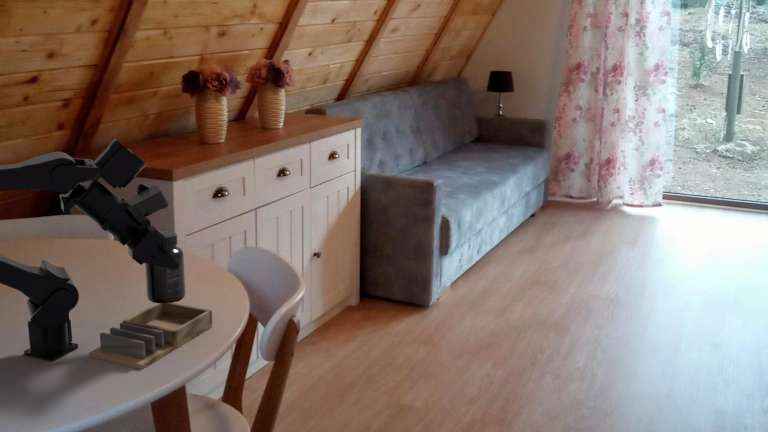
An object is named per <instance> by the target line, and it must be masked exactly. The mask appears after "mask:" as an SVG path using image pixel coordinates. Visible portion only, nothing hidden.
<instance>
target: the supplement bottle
mask: <svg viewBox="0 0 768 432" xmlns="http://www.w3.org/2000/svg"><path fill="white" fill-rule="evenodd" d="M160 232H161V233H163V234H164V236H165V237H166V238H165V240H164V247H165V248H166V250H167V251H168V252H169V253H170V254H171V256H172V257H173V258H174V259H175V261H176V262H177V263H178V264H179V267H178V268H177V269H176V270H173V269H169V268H165V267H161V266H157V265H152V264H147V263H144V268H145V282H146V285H145V287H146V294H147V295H146V296H147V299H148V300H149V301H150V302H151V303H155V304H157V303H160V304H165V303H177V302H180V301H181V300H183V299H184V298H185V297H186V292H187V291H186V275H185V274H186V273H185V271H186V270H185V256H184V255H185V253H184V250H183V249H182V248H181V247H179V246H178V234H177V233H176V232H174V231H166V230H164V231H162V230H161V231H160Z"/></svg>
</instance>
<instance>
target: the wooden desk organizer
mask: <svg viewBox="0 0 768 432" xmlns="http://www.w3.org/2000/svg"><path fill="white" fill-rule="evenodd" d="M212 313H213V310H210V309H207V308H201V307H200V308H199V307H196V306H190V305H186V304H182V303H177V302H173V303H165V304H160V303H155V304H154V305H151V306H150V307H148V308H146V309H144V310H142V311H140V312H138V313H136V314H134V315H132V316H129V318H126V319H124V320H122V322H120V323H119V328H118V327H113V326H112V327H110V328H109V333H106V332H100V333H99V341H100V345H99V346H98V347H96V348H95V349H92V350H91V351H90V352H88V357H89V358H93V359H97V360H101V361H104V362H105V361H106V362H109V363H115V364H118V365H119V364H120V365H122V366H128V367H131V368H136V369H140V370H144V369H145V368H147V367H148V366H150V365H152V364H154V363H155V362H157V361H159V360H160V359H162V358H163V357H166V356H167V355H168V354H170V353H172V352H174V351H175V350H177V349H178V348H180V347H182V346H183V345H185V344H187V343H188V342H190V341H192V340H193V339H195V338H196V337H198V336H200V335H201V334H203V333H205V332H207V331H208V330H210V329H212V328H213V314H212Z"/></svg>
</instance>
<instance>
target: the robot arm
mask: <svg viewBox="0 0 768 432" xmlns="http://www.w3.org/2000/svg"><path fill="white" fill-rule="evenodd" d="M146 166H147V163H146V162H145V161H143V160H142V159H141V158H140V157H139V156H138V155H137V154H135V153H134V152H133V151H132V150H131V149H129V148H127V147H125V146H124V145H123V144H122V143H121V142H120V141H118V140H117V139H116V138H113V139H112V140H111V141H110V142H109V144H108V145H107V146H106V148H105V149H104V150H103V151H102V152H101V153H100V155H99V156H98V157H97V158H96V159H95V160H93V159H88V158H76V157H75V158H74V157H72V156H71V155H70V154H67V153H66V152H63V151H53V152H49V153H45V154H42V155H38V156H37V155H36V156H34V157H31V158H29V159H26V160H24V161H20V162H17V163H9V164H0V192H7V191H16V190H17V191H18V190H30V191H38V192H45V193H46V192H47V193H48V192H49V193H61V194H59V195H58V197H59V199H60V208H61V210H62V211H63V213H64V214H67V213H69V212H70V211H71V210H72V209H73V208H74V207H76V208H77V209H79V210H80V211H81V212H82V213H83V214H85V216H88V217H89V218H90V219H91V220H92V221H94V223H96V224H98V226H99V227H100V229H102V230H104V232H107V233H109V234H110V235H111V236H112V237H114V238H116V240H117V241H118V242H119V243H120V244H121V245H122V246H125V245H126V246H127V253H128V255H129V256H130V258H131V259H132V260H133V261H135V263H138V264H139V265H140V266H142V265H143V264H144V265H145V263H147V264H152V265H157V266H161V267H165V268H169V269H173V270H176V269H177V268H178V267H179V264H178V263H177V262H176V261H175V259H174V258H173V257H172V256H171V254H170V253H169V252H168V251H167V250H166V248H165V247H164V240H165V238H166V237H165V236H164V234H163V233H161V232H162V231H161V230H159V229H158V228H157V227H156V226H154V225H151V220H150V218H148V217H149V216H151V215H153V214H155V213H156V212H158V211H160V210H164V209H166V208H167V207H169V205H170V204H169V202H168V200H167V197H166V196H165V194H164V192H163V190H162V189H161V188H160V187H159V186H158V185H154V184H152V185H151V186H149V185H147V184H146V183H144V182H141V183H138V184H137V185H135V187H134V189H135V190H134V191H135V192H134V193H135V194H133V195H132V197H131V198H130V199H125V198H124V197H123V196H118V195H117V194H116V193H114V192H113V191H112V190H111V189H110V188H108V187H107V186H106V185H105V184H104V183H102V182H101V181H100V179H102V180H103V181H105V183H106V184H108V185H109V186H111V187H112V188H113V189H114V190H116V189H121V188H124V189H125V188H127V187H128V185H129V184H130V183H131V182H132V181H133V180H134V179H135V178H136V176H137V175H138V174H139V173H141V171H142V170H143V169H145V167H146ZM67 192H68V193H67ZM0 284H2V285H4V286H6V287H9V288H12V289H14V290H16V291H18V292H20V293H21V294H23V295H24V296H26V297H27V298H28V300H26V303H27V308H28V311H29V314H30V317H31V318H30V320H28V321H27V328H28V341H29V347H28V348H27V349H24V350H23V354H24V355H26V356H30V357H35V358H38V359H42V360H46V361H54V360H56V359H59V358H60V357H62V356H64V355H66V354H68V353H70V352H72V351H74V350H76V349H79V344H78V343H74V342H73V333H72V322H71V319H70V312H71V311H72V310H73V309H74V308H75V307H76V306H77V305H78V304H79V303H78V302H79V299H80V294H79V290H78V288H77V286H76V284H75V282H74V280H73V278H72V275H70V274H69V273H68V272H67V270H66V268H65V267H64V266H63V267H62V266H61V267H60V266H57V265H54V264H52V263H50V262H49V261H47V260H45V259H42V261H41V264H40V266H35V265H34V266H32V265H27V264H23V263H21V262H19V261H16V260H15V259H12V258H9V257H7V256H4V255H2V254H0Z"/></svg>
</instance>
